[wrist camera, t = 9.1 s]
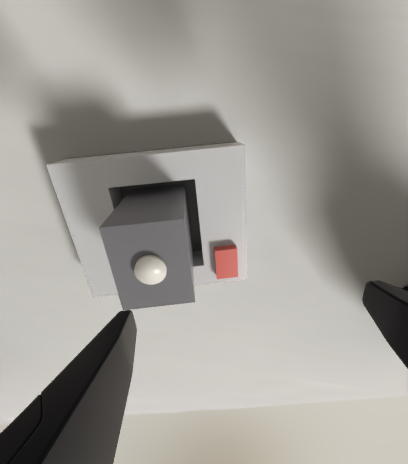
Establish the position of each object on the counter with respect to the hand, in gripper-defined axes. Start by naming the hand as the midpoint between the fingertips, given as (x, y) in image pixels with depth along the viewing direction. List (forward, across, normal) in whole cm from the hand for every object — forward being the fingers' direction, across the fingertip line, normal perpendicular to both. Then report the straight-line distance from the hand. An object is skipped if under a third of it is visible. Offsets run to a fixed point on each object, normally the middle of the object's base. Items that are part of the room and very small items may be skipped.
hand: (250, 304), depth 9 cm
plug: (+11, +4, 0) cm, 11 cm away
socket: (+11, +4, 0) cm, 12 cm away
